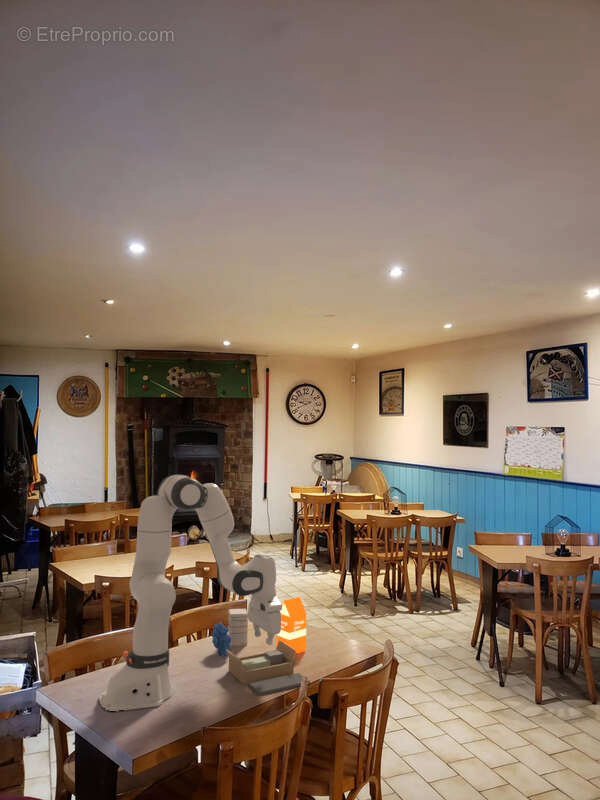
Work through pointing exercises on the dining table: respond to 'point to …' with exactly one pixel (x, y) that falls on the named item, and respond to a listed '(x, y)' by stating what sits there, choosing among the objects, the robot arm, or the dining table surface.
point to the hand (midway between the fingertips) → (263, 640)
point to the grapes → (221, 639)
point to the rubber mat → (277, 684)
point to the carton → (265, 672)
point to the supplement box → (238, 627)
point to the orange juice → (293, 624)
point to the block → (264, 660)
